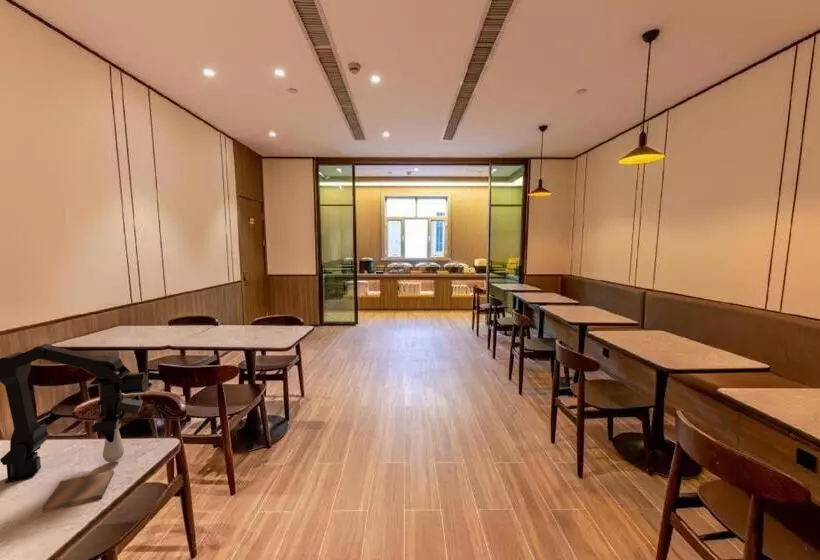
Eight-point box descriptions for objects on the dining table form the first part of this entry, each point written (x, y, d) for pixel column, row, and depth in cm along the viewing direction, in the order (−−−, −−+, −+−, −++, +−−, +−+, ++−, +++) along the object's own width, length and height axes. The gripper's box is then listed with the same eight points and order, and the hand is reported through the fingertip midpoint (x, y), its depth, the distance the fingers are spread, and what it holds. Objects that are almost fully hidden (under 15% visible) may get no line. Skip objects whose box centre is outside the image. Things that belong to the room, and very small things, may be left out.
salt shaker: (112, 465, 120) (110, 427, 119) (98, 462, 122) (96, 425, 120) (129, 455, 126) (127, 419, 125) (115, 453, 127) (113, 417, 126)
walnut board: (42, 512, 101) (41, 508, 100) (60, 484, 112) (60, 481, 112) (101, 498, 106) (101, 494, 106) (113, 473, 118) (113, 470, 118)
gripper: (133, 401, 117) (136, 447, 119) (145, 382, 134) (147, 422, 135) (89, 407, 112) (92, 455, 114) (106, 386, 129) (109, 428, 130)
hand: (112, 439), depth 123 cm, fingers closed on salt shaker, 3 cm apart
